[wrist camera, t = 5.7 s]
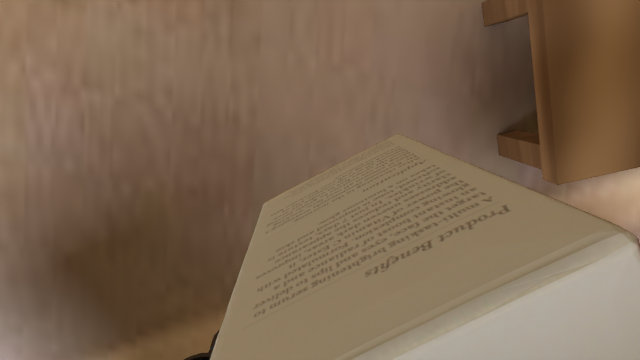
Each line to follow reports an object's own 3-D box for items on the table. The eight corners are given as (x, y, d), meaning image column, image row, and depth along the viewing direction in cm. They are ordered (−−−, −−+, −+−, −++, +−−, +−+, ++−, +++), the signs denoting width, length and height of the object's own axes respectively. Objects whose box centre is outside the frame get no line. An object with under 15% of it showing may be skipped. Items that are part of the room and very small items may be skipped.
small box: (485, 309, 16) (820, 704, 6) (357, 371, 16) (458, 853, 6) (399, 126, 14) (660, 223, 4) (258, 199, 15) (163, 463, 4)
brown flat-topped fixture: (494, 160, 32) (557, 184, 24) (475, -2, 29) (539, -35, 21) (645, 128, 32) (758, 141, 24) (640, -38, 29) (765, -84, 21)
